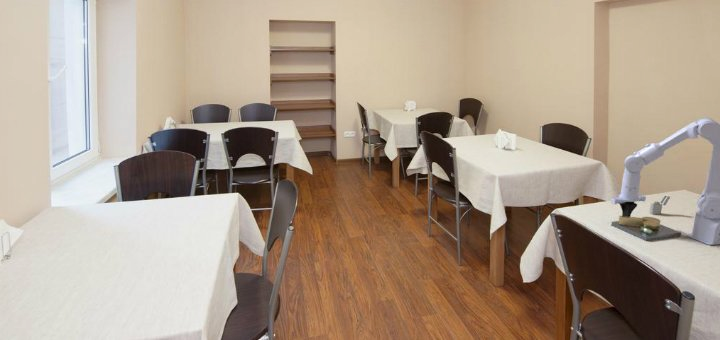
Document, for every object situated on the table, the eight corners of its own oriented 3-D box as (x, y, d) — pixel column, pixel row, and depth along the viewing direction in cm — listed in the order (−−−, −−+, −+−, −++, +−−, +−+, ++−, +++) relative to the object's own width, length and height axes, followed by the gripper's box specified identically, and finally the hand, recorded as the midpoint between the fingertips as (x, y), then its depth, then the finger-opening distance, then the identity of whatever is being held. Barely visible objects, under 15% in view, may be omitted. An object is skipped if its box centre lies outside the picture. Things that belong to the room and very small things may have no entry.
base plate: (680, 236, 167) (681, 228, 166) (645, 240, 163) (647, 232, 162) (643, 221, 182) (644, 214, 181) (611, 225, 178) (612, 217, 177)
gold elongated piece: (657, 225, 173) (658, 217, 172) (660, 230, 167) (662, 223, 167) (617, 220, 177) (618, 213, 177) (619, 226, 172) (620, 218, 171)
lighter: (652, 214, 190) (655, 196, 188) (649, 213, 191) (652, 195, 189) (667, 213, 190) (670, 195, 188) (664, 212, 192) (667, 194, 190)
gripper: (636, 182, 178) (632, 214, 181) (606, 185, 174) (602, 218, 178) (652, 187, 171) (647, 220, 175) (621, 190, 168) (616, 224, 171)
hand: (625, 219), depth 176 cm, fingers closed, pressing on gold elongated piece
